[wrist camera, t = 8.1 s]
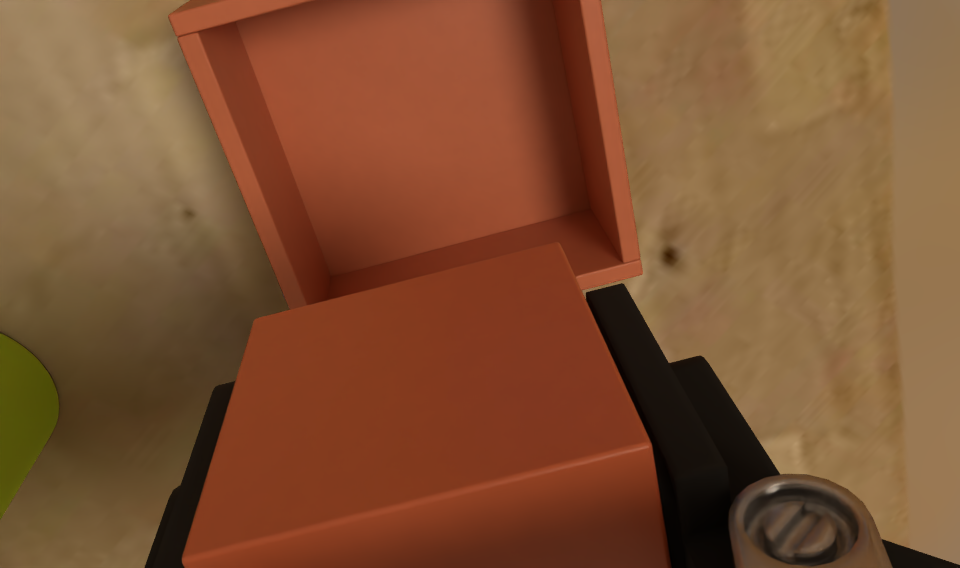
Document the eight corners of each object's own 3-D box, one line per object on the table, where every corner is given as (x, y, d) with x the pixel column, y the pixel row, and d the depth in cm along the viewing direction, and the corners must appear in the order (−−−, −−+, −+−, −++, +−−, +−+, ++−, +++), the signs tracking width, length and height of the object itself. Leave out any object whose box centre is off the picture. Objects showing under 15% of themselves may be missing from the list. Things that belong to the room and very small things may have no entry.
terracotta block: (252, 316, 11) (178, 561, 7) (559, 239, 11) (652, 443, 7) (348, 537, 13) (331, 820, 9) (606, 473, 13) (698, 731, 9)
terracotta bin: (207, -12, 21) (166, 15, 17) (548, -105, 21) (586, -99, 17) (322, 286, 26) (310, 361, 22) (603, 212, 26) (643, 275, 22)
